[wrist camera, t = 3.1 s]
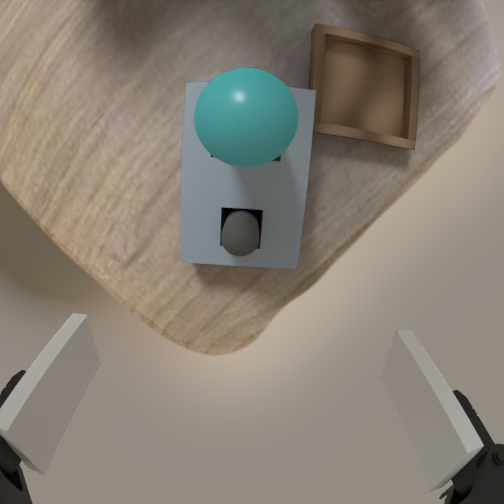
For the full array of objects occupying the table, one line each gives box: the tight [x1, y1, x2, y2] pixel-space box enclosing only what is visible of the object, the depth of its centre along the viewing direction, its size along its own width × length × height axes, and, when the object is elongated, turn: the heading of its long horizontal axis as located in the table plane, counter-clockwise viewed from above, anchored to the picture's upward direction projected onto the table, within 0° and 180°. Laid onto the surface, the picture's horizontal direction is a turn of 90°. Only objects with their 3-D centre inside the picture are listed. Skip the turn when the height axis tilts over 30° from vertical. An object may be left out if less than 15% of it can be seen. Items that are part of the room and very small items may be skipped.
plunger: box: [221, 208, 259, 256], centre depth 29 cm, size 3×3×4 cm
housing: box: [181, 82, 316, 269], centre depth 30 cm, size 12×18×4 cm, turn 176°
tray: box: [309, 24, 419, 150], centre depth 27 cm, size 12×12×2 cm
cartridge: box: [194, 68, 298, 167], centre depth 22 cm, size 6×6×15 cm
